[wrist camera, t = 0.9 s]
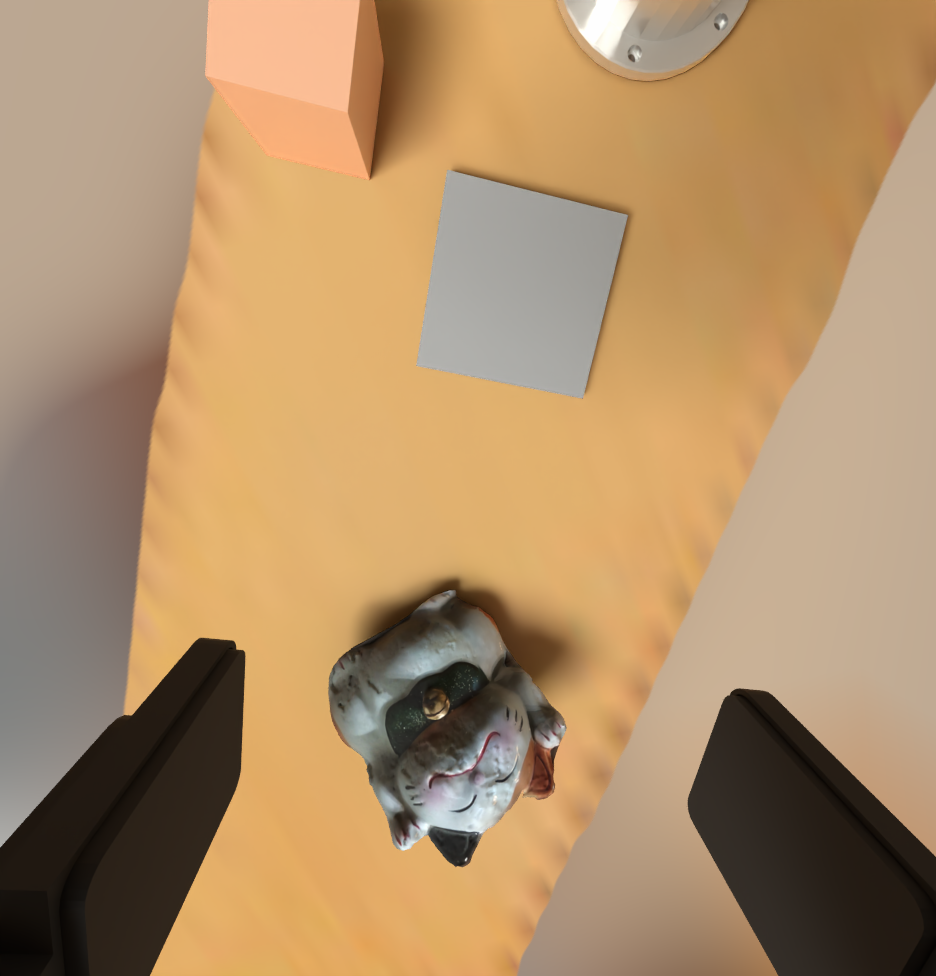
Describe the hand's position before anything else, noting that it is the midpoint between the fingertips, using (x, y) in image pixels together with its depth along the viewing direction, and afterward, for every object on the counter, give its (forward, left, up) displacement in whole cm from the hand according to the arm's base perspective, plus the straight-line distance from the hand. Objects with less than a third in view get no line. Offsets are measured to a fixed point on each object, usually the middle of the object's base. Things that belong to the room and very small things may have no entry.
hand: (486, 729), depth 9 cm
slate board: (-12, +3, -26) cm, 29 cm away
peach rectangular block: (-20, -11, -27) cm, 35 cm away
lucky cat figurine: (+17, +3, -27) cm, 32 cm away
